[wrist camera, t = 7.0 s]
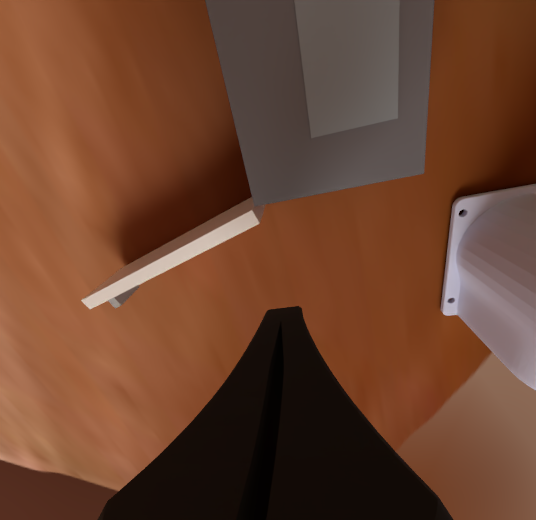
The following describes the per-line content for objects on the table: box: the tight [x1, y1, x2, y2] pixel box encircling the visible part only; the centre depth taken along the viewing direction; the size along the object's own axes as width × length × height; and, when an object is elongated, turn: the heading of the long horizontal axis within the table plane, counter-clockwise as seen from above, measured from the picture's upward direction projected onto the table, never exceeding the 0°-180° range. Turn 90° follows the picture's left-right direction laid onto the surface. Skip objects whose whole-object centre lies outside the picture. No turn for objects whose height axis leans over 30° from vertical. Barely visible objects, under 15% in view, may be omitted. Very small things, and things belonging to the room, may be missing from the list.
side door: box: [81, 197, 266, 309], centre depth 17 cm, size 13×2×4 cm, turn 119°
